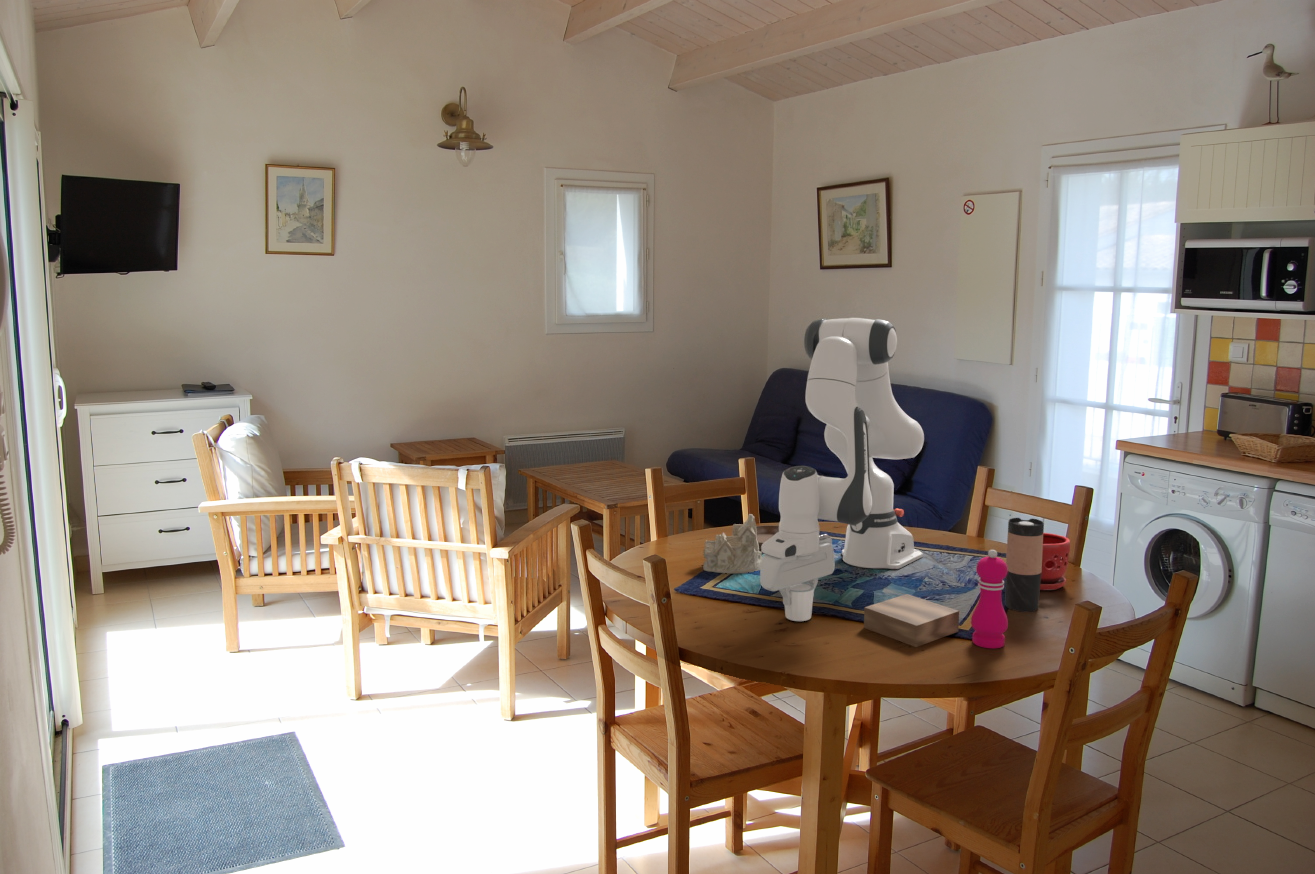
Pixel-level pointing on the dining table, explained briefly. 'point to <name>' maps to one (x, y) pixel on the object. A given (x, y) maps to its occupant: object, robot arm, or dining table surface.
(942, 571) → the dining table surface
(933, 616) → the walnut base block
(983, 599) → the pepper mill
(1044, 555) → the plant pot
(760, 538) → the plant saucer
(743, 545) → the ceramic cottage
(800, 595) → the white cup
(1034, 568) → the travel mug
